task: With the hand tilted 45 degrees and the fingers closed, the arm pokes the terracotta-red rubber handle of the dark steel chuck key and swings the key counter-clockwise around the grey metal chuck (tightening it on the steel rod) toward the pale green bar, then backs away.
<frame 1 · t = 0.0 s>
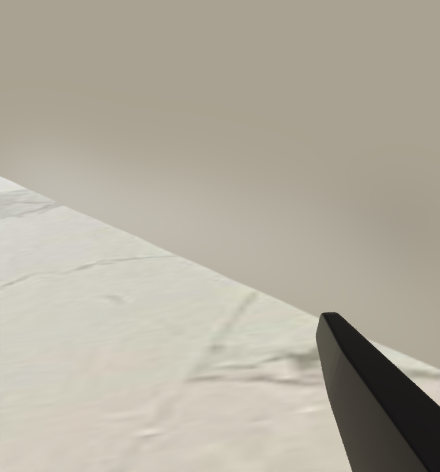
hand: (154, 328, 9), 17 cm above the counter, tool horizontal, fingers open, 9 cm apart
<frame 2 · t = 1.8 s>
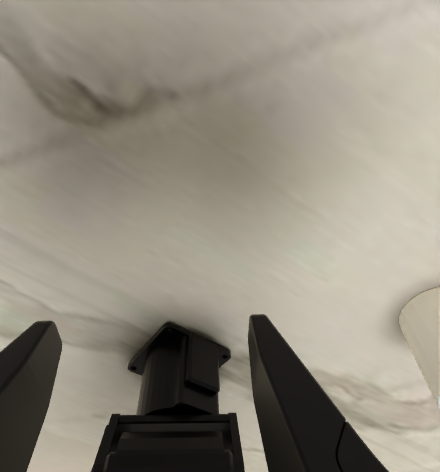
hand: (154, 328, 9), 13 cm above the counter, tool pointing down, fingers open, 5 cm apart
white cup: (432, 310, 29), on the counter
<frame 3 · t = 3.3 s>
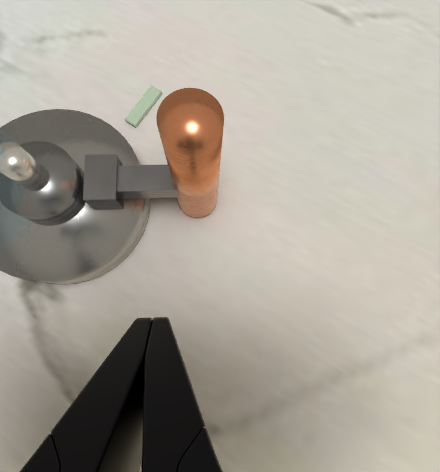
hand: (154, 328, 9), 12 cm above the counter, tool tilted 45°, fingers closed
pale green bar: (144, 107, 24), on the counter
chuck: (69, 203, 22), on the counter
chuck key: (149, 170, 17), point 5 cm above the counter, hinge at 0.0°
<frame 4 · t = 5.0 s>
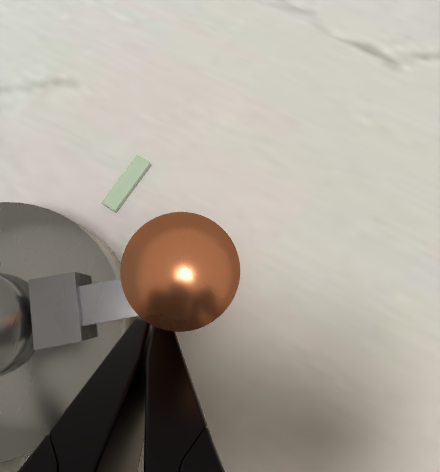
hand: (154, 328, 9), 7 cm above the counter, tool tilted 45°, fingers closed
pale green bar: (127, 184, 18), on the counter
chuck: (25, 321, 16), on the counter
chuck key: (125, 295, 12), point 5 cm above the counter, hinge at 8.4°, touching gripper
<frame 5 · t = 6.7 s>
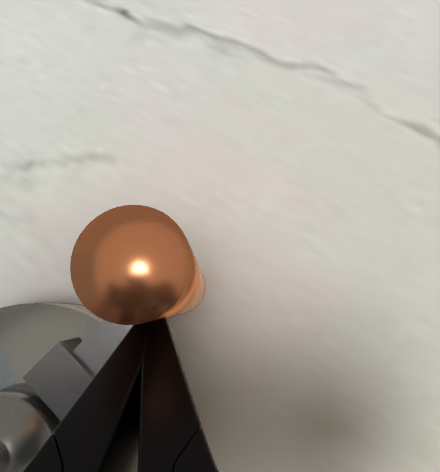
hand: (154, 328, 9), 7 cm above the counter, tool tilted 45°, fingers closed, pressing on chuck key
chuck: (52, 418, 16), on the counter
chuck key: (115, 329, 11), point 5 cm above the counter, hinge at 46.9°, touching gripper
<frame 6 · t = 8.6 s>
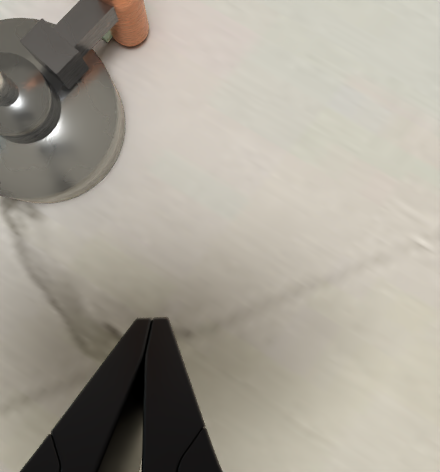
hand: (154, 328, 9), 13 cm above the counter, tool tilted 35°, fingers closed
pale green bar: (116, 20, 22), on the counter
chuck: (43, 123, 22), on the counter
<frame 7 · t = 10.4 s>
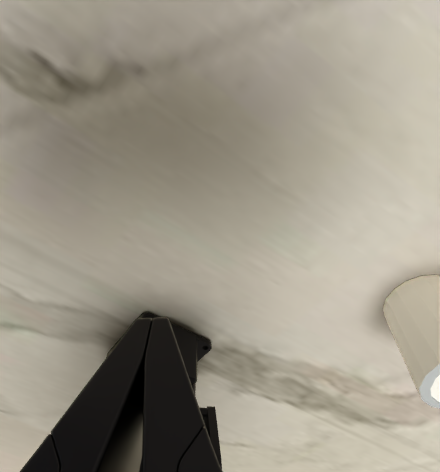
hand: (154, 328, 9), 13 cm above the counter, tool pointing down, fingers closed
white cup: (417, 300, 28), on the counter
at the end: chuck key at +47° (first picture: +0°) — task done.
